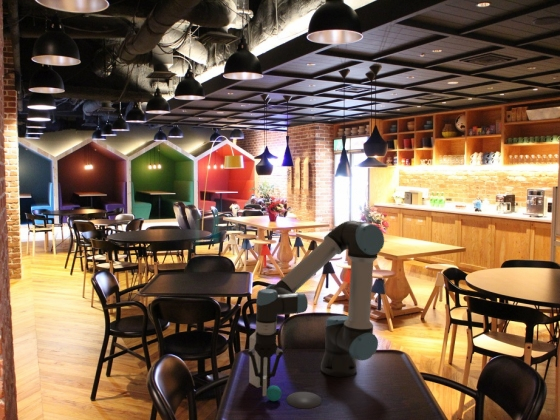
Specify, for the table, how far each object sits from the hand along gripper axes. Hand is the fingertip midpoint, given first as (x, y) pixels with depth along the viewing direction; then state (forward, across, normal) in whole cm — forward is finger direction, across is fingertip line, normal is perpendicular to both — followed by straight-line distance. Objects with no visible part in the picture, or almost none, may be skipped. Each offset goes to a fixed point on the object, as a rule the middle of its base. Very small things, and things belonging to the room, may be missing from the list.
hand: (264, 394), depth 182 cm
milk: (+3, -2, +15) cm, 15 cm away
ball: (0, +3, 0) cm, 3 cm away
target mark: (+2, +15, 0) cm, 15 cm away
